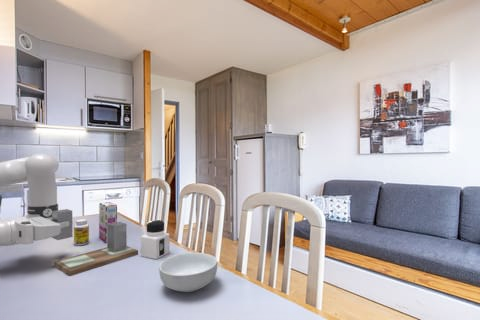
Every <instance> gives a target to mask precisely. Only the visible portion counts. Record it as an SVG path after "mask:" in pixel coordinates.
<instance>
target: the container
mask: <svg viewBox="0 0 480 320" xmlns="http://www.w3.org/2000/svg"><path fill="white" fill-rule="evenodd" d="M170 235H171V234H170V233H167V232H165V222H164V220H161V219H154V220H150V221H148V222H147V223H146V234H143V235H140V256H141V257H145V258H148V259H153V260H157V259H160V258H162V257H164V256H166V255H168V254H170V249H171V248H170V244H171V243H170V242H171V241H170V238H171V237H170Z"/></svg>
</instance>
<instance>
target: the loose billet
mask: <svg viewBox="0 0 480 320" xmlns="http://www.w3.org/2000/svg"><path fill="white" fill-rule="evenodd" d="M52 221H53V222H56V223H61V222H64V221H68V222H69V226H68V227H63V228H61V233H60V234H59V235H57V236H54V237H51V238H52V239H54V240H56V241H60V240H61V241H62V240H64V239H65V240H66V239H70V238H74V233H73V210H71V209H68V208H66V209H58V210H57V211H52Z"/></svg>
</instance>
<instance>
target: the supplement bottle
mask: <svg viewBox="0 0 480 320" xmlns="http://www.w3.org/2000/svg"><path fill="white" fill-rule="evenodd" d="M89 242H90V225H89V224H88V220H87V219H85V218H84V219H82V218H81V219H77V220H76V222H75V225H74V226H73V244H74V246H85V245H88V244H89Z"/></svg>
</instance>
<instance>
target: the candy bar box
mask: <svg viewBox="0 0 480 320" xmlns="http://www.w3.org/2000/svg"><path fill="white" fill-rule="evenodd" d="M98 205H99V207H98V210H99V211H98V212H99V215H98V222H99V223H98V225H99V227H98V238H99V239H101V241H103V243H105V244H107V224H111V223H116V222H118V205H117V204H116V203H113V202H110V201H107V202H99V204H98Z"/></svg>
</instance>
